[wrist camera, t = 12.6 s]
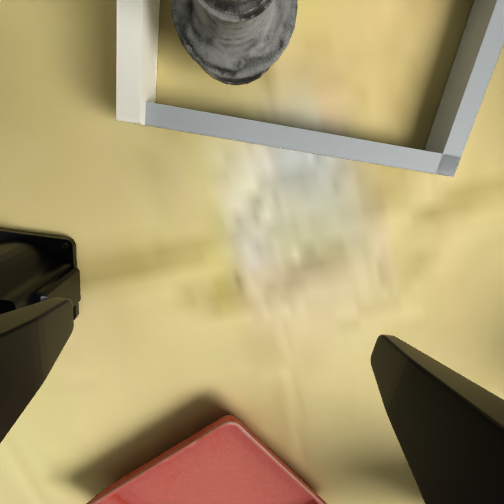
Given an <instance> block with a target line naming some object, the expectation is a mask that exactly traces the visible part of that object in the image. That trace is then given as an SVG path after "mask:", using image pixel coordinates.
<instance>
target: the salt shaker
mask: <svg viewBox="0 0 504 504" xmlns="http://www.w3.org/2000/svg"><path fill="white" fill-rule="evenodd" d="M171 11H172V16H173V21H174V26H175V29H176V31H177V33H178V36H179V38H180V40H181V43H182V45H183V46H184V47H185V49H186V50H187V51H188V53H189V54H190V56H191V57H192V58H193V60H195V61H196V62H197V63H198V64H199V65H201V66H202V67H203V69H204V70H205V71H206V72H207V73H208V74H210V75H211V76H212V77H213V78H214V79H216V80H219V81H221V82H223V83H225V84H232V85H241V84H248V83H250V82H252V81H254V80H256V79H258V78H260V77H261V76H262V75H263V74H264V73H265V72H266V71H268V69H269V68H270V66H271V65H272V64H273V63H274V62H276V61H277V60H278V59H279V57H280V56H281V54H282V53H283V51H284V50H285V48H286V47H287V45H288V43H289V41H290V38H291V35H292V33H293V30H294V27H295V21H296V14H297V0H171Z"/></svg>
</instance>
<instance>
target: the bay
mask: <svg viewBox="0 0 504 504" xmlns="http://www.w3.org/2000/svg"><path fill="white" fill-rule="evenodd" d="M159 12H160V0H117V54H116V120H120V121H125V122H130V123H135V124H141V125H147V126H153V127H159V128H165V129H171V130H177V131H183V132H189V133H194V134H200V135H206V136H212V137H218V138H224V139H230V140H236V141H242V142H248V143H254V144H260V145H266V146H272V147H277V148H283V149H289V150H295V151H301V152H307V153H313V154H319V155H325V156H331V157H337V158H343V159H349V160H354V161H360V162H366V163H372V164H378V165H384V166H390V167H396V168H402V169H408V170H414V171H420V172H426V173H431V174H438V175H444V176H451V177H454V174H455V172H456V169H457V166H458V164H459V161H460V158H461V156H462V153H463V150H464V148H465V145H466V142H467V140H468V137H469V134H470V132H471V129H472V126H473V124H474V121H475V118H476V116H477V113H478V110H479V108H480V105H481V102H482V100H483V97H484V95H485V92H486V89H487V87H488V84H489V81H490V79H491V76H492V73H493V71H494V68H495V65H496V63H497V60H498V57H499V55H500V52H501V49H502V47H503V44H504V0H474V3H473V6H472V9H471V12H470V15H469V18H468V21H467V24H466V27H465V30H464V33H463V36H462V39H461V42H460V45H459V48H458V51H457V54H456V57H455V60H454V63H453V66H452V69H451V72H450V75H449V78H448V81H447V84H446V87H445V90H444V93H443V96H442V99H441V102H440V105H439V108H438V111H437V114H436V117H435V120H434V123H433V126H432V129H431V132H430V135H429V138H428V141H427V144H426V147H425V149H424V150H419V149H413V148H407V147H402V146H396V145H390V144H385V143H379V142H373V141H368V140H362V139H356V138H351V137H345V136H339V135H334V134H328V133H322V132H317V131H311V130H305V129H299V128H294V127H288V126H282V125H277V124H271V123H265V122H260V121H254V120H248V119H243V118H237V117H231V116H226V115H220V114H214V113H209V112H203V111H197V110H192V109H186V108H180V107H175V106H169V105H163V104H158V103H156V80H157V57H158V35H159Z"/></svg>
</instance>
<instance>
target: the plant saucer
mask: <svg viewBox="0 0 504 504" xmlns="http://www.w3.org/2000/svg"><path fill="white" fill-rule="evenodd" d="M87 504H327V503H326V502H325V501H324V500H323V499H322V498H321V497H320V496H319V495H318V494H317V493H316V492H314V491H313V490H312V489H311V488H310V487H309V486H308V485H307V484H306V483H305V482H304V481H303V480H302V479H301V478H299V477H298V476H297V475H296V474H295V473H294V472H293V471H292V470H291V469H290V468H289V467H288V466H287V465H286V464H285V463H284V462H282V461H281V460H280V459H279V458H278V457H277V456H276V455H275V454H274V453H273V452H272V451H271V450H270V449H269V448H268V447H266V446H265V445H264V444H263V443H262V442H261V441H260V440H259V439H258V438H257V437H256V436H255V435H254V434H253V433H252V432H251V431H250V430H248V429H247V428H246V427H245V426H244V425H243V424H242V423H241V422H240V421H239V420H238V419H237V418H235V417H234V416H231V415H225V416H223V417H221V418H219V419H218V420H216V421H215V422H213V423H211V424H209V425H208V426H206V427H205V428H203V429H201V430H200V431H198V432H197V433H195V434H193V435H192V436H190V437H188V438H187V439H185V440H183V441H182V442H180V443H178V444H177V445H175V446H173V447H172V448H170V449H168V450H167V451H165V452H163V453H162V454H160V455H158V456H157V457H155V458H153V459H152V460H150V461H148V462H147V463H145V464H143V465H142V466H140V467H139V468H137V469H135V470H133V471H132V472H130V473H128V474H127V475H125V476H124V477H122V478H120V479H119V480H117V481H116V482H114V483H112V484H111V485H110V486H108V487H107V488H105V489H104V490H103V491H102V492H100V493H99V494H98V495H96V496H95V497H94V498H93V499H92V500H90V501H89V502H88V503H87Z"/></svg>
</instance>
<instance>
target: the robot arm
mask: <svg viewBox="0 0 504 504" xmlns="http://www.w3.org/2000/svg"><path fill="white" fill-rule="evenodd" d="M65 243H67V244H68V245H69V248H68V247H66V246H65ZM80 299H81V296H80V271H79V269H78V268H77V259H76V244H75V242H74V240H73V239H71V238H68V237H60V236H53V235H45V234H37V233H30V232H22V231H14V230H7V229H0V443H1V442H2V440H3V439H4V437H5V436H6V435H7V433H8V432H9V430H10V429H11V427H12V426H13V425H14V423H15V422H16V420H17V419H18V418H19V416H20V415H21V413H22V412H23V411H24V409H25V408H26V406H27V405H28V404H29V402H30V401H31V399H32V398H33V397H34V395H35V394H36V392H37V391H38V390H39V388H40V387H41V385H42V384H43V382H44V381H45V379H46V377H47V376H48V374H49V372H50V370H51V369H52V367H53V365H54V363H55V362H56V360H57V358H58V356H59V355H60V353H61V351H62V349H63V347H64V346H65V344H66V342H67V340H68V339H69V337H70V335H71V333H72V331H73V326H74V321H73V320H75V318H76V317H77V316H78V315H79V305H78V302H79V301H80ZM371 366H372V369H373V372H374V375H375V378H376V382H377V385H378V388H379V391H380V394H381V397H382V401H383V404H384V407H385V409H386V412H387V415H388V417H389V420H390V422H391V425H392V427H393V429H394V432H395V434H396V436H397V439H398V441H399V443H400V446H401V448H402V450H403V453H404V455H405V457H406V460H407V462H408V464H409V467H410V469H411V471H412V474H413V476H414V478H415V481H416V483H417V485H418V488H419V490H420V492H421V495H422V497H423V499H424V502H425V504H504V400H503V399H501V398H499V397H498V396H496V395H494V394H493V393H491V392H489V391H487V390H486V389H484V388H482V387H481V386H479V385H477V384H476V383H474V382H472V381H470V380H469V379H467V378H465V377H464V376H462V375H460V374H458V373H457V372H455V371H453V370H452V369H450V368H448V367H446V366H445V365H443V364H441V363H440V362H438V361H436V360H434V359H433V358H431V357H429V356H428V355H426V354H424V353H422V352H421V351H419V350H417V349H416V348H414V347H412V346H410V345H409V344H407V343H405V342H404V341H402V340H400V339H399V338H397V337H395V336H392V335H380V336H379V337H378V338H377V341H376V344H375V346H374V349H373V352H372V355H371Z"/></svg>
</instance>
